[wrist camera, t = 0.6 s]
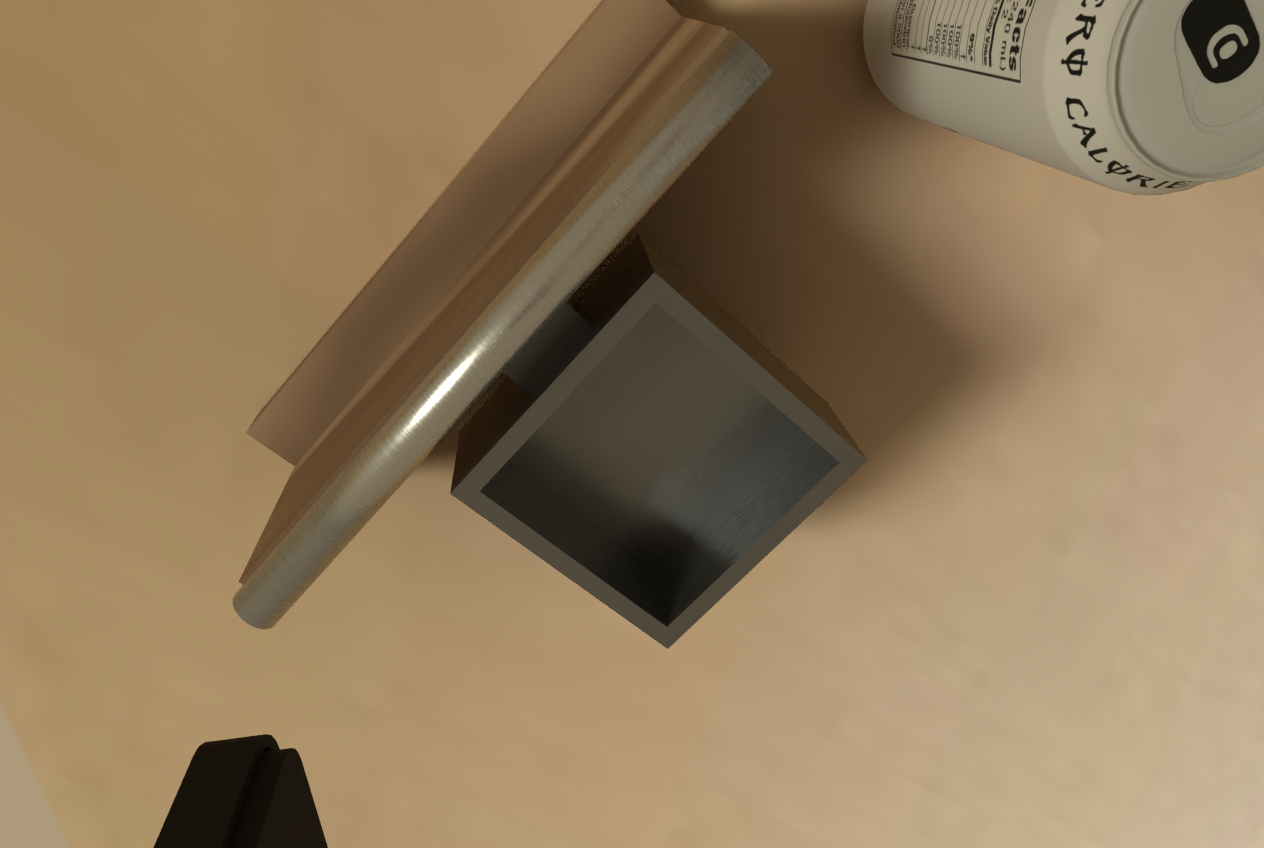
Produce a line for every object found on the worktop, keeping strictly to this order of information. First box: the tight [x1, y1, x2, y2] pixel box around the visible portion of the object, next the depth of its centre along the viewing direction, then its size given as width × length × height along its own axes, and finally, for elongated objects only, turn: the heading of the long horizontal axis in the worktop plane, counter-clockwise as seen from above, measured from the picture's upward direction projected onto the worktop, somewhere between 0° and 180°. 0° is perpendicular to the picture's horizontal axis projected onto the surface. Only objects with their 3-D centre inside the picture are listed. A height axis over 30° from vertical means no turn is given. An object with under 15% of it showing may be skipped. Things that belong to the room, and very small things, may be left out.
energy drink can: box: [863, 0, 1264, 195], centre depth 26 cm, size 6×6×15 cm
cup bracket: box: [233, 0, 867, 649], centre depth 32 cm, size 14×20×10 cm
